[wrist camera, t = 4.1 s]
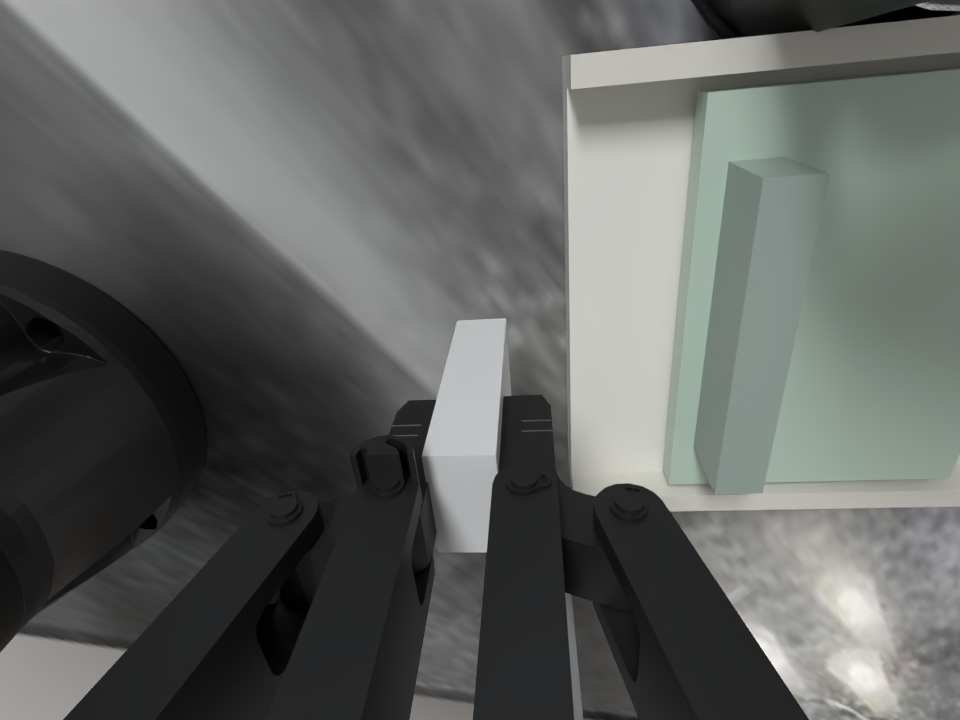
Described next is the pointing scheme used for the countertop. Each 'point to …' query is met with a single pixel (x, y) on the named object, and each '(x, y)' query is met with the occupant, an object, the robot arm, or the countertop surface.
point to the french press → (813, 14)
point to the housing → (659, 243)
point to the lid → (820, 285)
